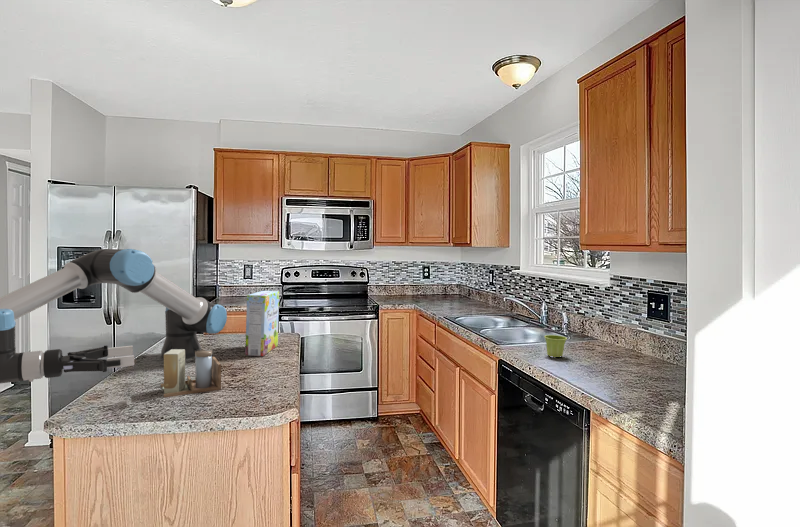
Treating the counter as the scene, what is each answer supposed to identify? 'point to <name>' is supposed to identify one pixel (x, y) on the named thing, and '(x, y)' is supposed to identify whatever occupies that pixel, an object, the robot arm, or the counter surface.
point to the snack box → (262, 322)
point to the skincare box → (174, 370)
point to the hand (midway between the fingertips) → (133, 355)
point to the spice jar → (203, 368)
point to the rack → (191, 383)
